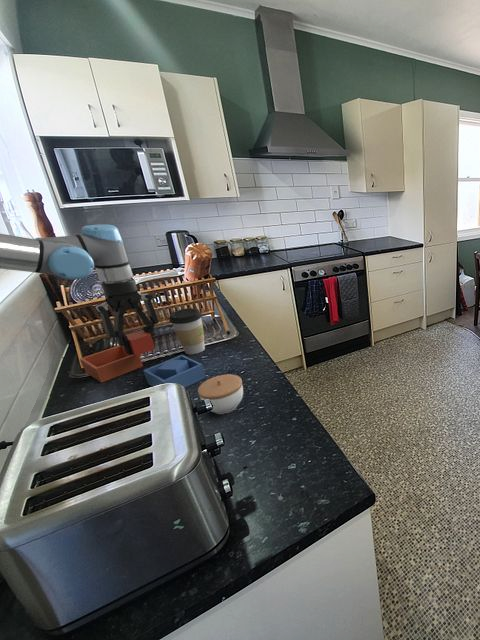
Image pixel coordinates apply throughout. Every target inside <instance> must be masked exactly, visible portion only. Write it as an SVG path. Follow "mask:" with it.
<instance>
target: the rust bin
mask: <svg viewBox="0 0 480 640" xmlns="http://www.w3.org/2000/svg"><path fill="white" fill-rule="evenodd" d="M79 361H80V363H81V366H82V367H83V370H84V372H85V373H86V374H87V375H89V376H90V377H92V378H94V379H95V380H97V381H98V382H99V383H105V382H107V381H110V380H112V379H115V378H118V377H121V376H122V375H125V374H128V373H130V372H133V371H135V370H137V369H140V368H142V367H144V365H143V362H142V359H141V356H140V355H138V356H134V355H129V354H127V353H126V352H125V349H124V346H120V345H119V344H118V345H117V346H114V347H111V348H107V349H105V350H102V351H99V352H95V353H93V354H90V355H89V354H88V355H87V356H84V357H81V358H79Z"/></svg>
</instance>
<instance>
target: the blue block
mask: <svg viewBox="0 0 480 640" xmlns="http://www.w3.org/2000/svg"><path fill="white" fill-rule="evenodd" d="M166 361H167V362H166V363H165V364H163V365H162V366H161V367H159V368H158V372H159V375H160V378H162V379H163V380H165V379H168V378H170V377H172V376H174V375H177V374H179V373H181V372H183V371H186V370H188V369H189V366H188V363H187V360H170V359H168V360H166Z"/></svg>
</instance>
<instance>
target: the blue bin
mask: <svg viewBox="0 0 480 640" xmlns="http://www.w3.org/2000/svg"><path fill="white" fill-rule="evenodd" d="M169 360H187V363H188V366H189V369H188V370H186V371H183V372H181V373H179V374H177V375H174V376H172V377H170V378H168V379H165V380H163V379H162V378H160V375H159V372H158V368H159V367H161V366H162V365H163V364H165V363H166V362H167V361H168V360H165V361H162V362H161V363H158V364H155V365H152V366H150V367H148V368H146V369H143V370H142V371H143V374H144V378H145V379H146V382H147V385H148V386H150V387H152V386H155V385H159V384H164V383H179V384H182V385H183V386H184V387H185V388H187V387H189V386H192V385H194V384H196V383H197V382H200V381H202V380H204V379H206V378H207V377H206V373H205V370H204V366H203V363H200V362H198V361H196V360H194V359H192V358H189V356H186V355H184V354H179V355H178V356H175V357H173V358H170V359H169Z"/></svg>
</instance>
